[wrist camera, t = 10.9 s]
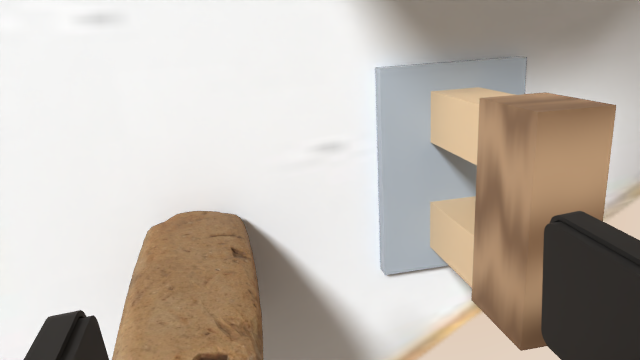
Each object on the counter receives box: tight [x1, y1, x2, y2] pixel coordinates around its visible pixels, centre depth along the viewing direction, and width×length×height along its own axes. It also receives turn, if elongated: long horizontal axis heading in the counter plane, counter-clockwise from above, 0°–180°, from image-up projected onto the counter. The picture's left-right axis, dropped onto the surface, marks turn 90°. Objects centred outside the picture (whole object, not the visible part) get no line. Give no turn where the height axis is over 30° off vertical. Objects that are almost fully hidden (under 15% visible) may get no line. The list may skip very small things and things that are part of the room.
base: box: [375, 57, 527, 288], centre depth 38 cm, size 17×12×9 cm
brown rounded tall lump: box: [112, 211, 263, 360], centre depth 31 cm, size 11×8×20 cm
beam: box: [472, 93, 616, 350], centre depth 31 cm, size 14×4×6 cm, turn 3°
